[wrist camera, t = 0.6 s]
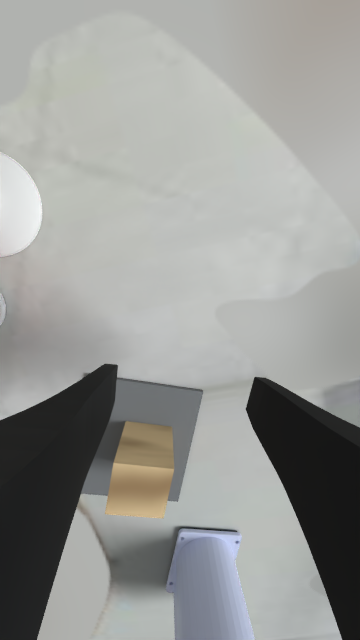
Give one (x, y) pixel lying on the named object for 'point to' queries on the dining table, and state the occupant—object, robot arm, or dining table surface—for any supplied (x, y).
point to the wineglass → (17, 207)
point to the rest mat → (150, 408)
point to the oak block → (142, 471)
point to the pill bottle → (2, 309)
